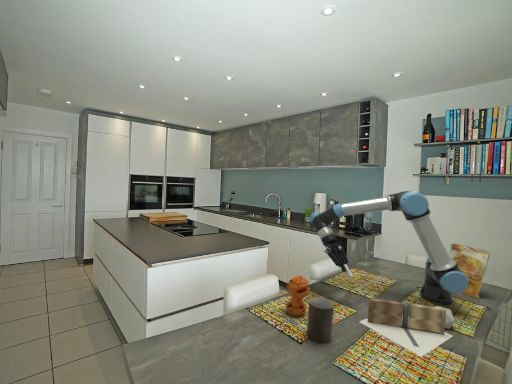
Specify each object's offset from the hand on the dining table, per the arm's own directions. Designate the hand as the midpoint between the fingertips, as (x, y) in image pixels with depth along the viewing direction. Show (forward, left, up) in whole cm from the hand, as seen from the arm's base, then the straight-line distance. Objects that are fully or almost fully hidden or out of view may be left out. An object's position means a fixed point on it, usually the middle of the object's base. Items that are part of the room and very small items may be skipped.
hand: (350, 277), depth 129 cm
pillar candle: (+31, +10, -16) cm, 36 cm away
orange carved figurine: (+27, -8, -16) cm, 32 cm away
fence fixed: (-12, +29, -15) cm, 35 cm away
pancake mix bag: (-82, +20, -16) cm, 86 cm away
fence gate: (-1, +18, -15) cm, 23 cm away
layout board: (-6, +25, -15) cm, 30 cm away
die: (-25, +31, -16) cm, 43 cm away
